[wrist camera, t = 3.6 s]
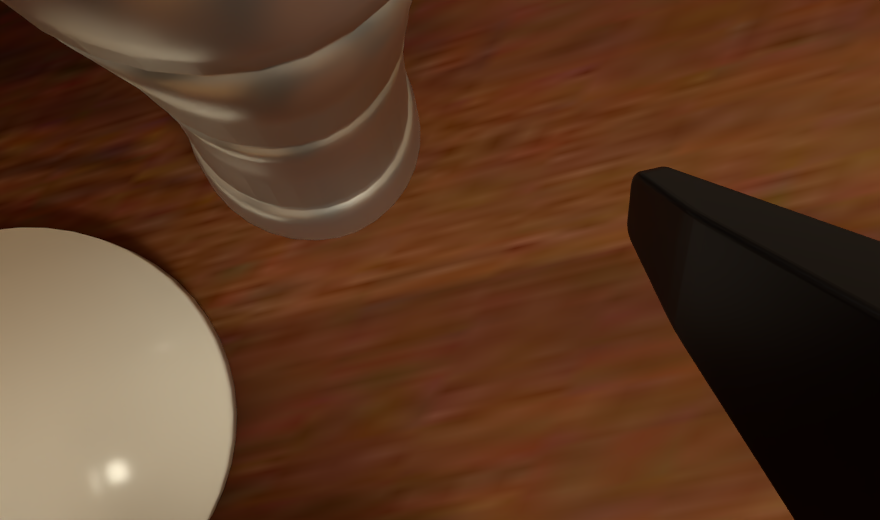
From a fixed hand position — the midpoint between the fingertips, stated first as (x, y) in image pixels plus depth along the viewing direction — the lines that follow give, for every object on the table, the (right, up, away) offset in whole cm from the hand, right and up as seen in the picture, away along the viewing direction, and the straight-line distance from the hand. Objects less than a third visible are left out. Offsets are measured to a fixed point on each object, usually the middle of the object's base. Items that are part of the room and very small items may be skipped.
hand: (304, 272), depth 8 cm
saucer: (-11, -5, +11) cm, 16 cm away
